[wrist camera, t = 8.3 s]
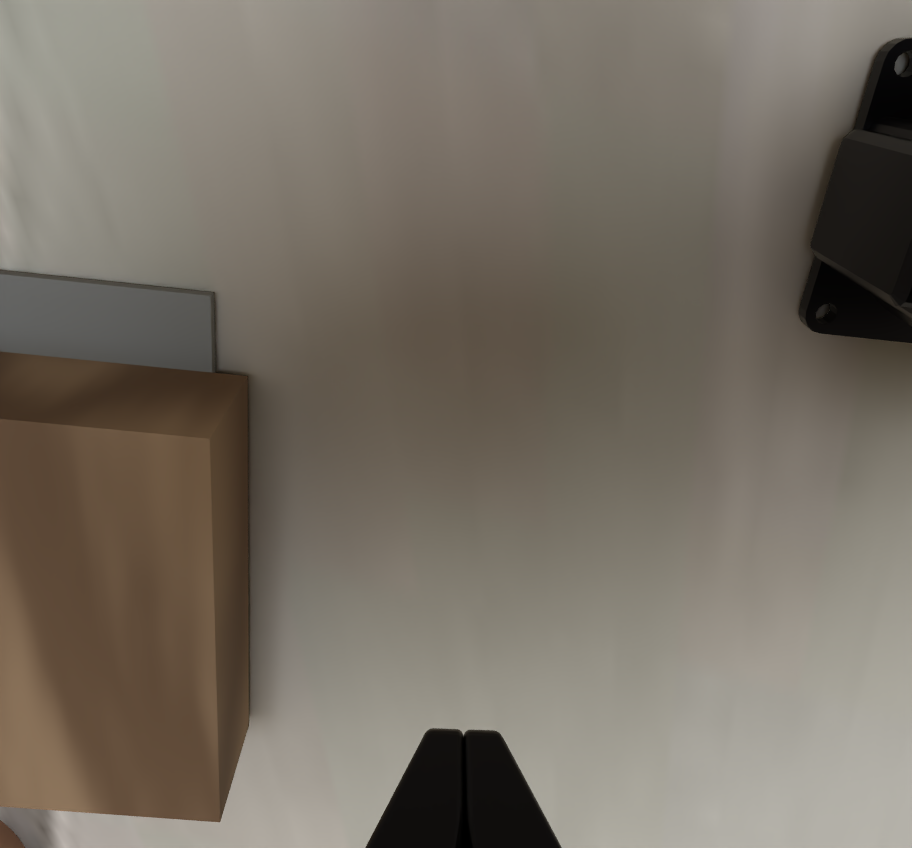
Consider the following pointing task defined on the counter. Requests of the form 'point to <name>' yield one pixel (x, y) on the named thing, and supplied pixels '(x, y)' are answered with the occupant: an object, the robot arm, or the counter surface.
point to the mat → (107, 321)
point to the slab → (122, 587)
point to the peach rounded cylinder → (8, 838)
